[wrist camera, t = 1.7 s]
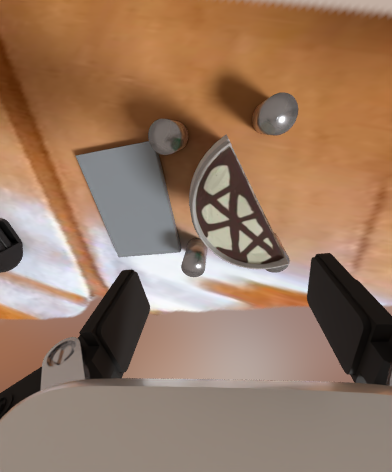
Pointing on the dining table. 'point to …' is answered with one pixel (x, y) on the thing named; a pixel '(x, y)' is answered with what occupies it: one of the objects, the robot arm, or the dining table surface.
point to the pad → (132, 199)
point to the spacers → (176, 137)
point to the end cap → (9, 247)
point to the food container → (231, 212)
